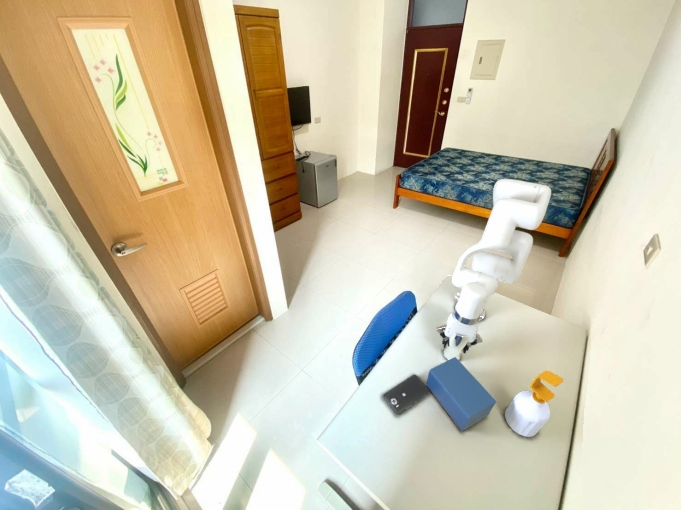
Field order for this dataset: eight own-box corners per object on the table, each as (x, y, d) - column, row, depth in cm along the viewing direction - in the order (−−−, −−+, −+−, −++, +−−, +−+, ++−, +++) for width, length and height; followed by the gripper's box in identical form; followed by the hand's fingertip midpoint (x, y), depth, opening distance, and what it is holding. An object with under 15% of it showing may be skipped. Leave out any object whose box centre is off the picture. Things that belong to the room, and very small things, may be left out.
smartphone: (382, 396, 95) (382, 394, 95) (414, 374, 101) (415, 373, 101) (396, 416, 90) (397, 414, 89) (430, 392, 96) (430, 390, 96)
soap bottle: (524, 443, 83) (561, 400, 69) (498, 415, 90) (527, 371, 76) (543, 428, 87) (582, 384, 73) (516, 402, 93) (547, 357, 79)
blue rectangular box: (424, 385, 98) (430, 369, 92) (448, 373, 102) (455, 356, 96) (461, 433, 86) (469, 417, 80) (486, 417, 89) (496, 401, 84)
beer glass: (440, 358, 107) (449, 332, 98) (444, 344, 112) (452, 319, 103) (459, 365, 104) (470, 340, 96) (462, 351, 110) (472, 326, 101)
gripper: (492, 313, 96) (478, 346, 106) (440, 301, 101) (431, 334, 111) (494, 329, 90) (479, 362, 100) (439, 316, 95) (429, 349, 105)
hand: (454, 347), depth 106 cm, fingers closed on beer glass, 6 cm apart
